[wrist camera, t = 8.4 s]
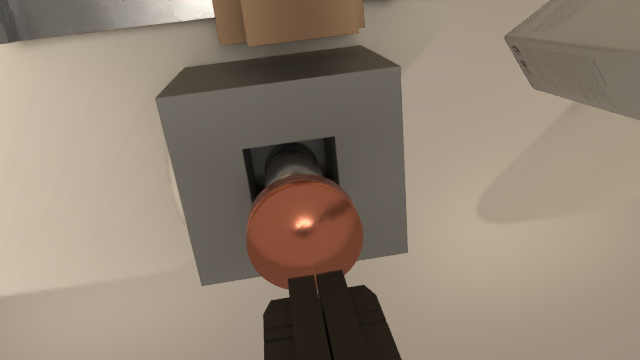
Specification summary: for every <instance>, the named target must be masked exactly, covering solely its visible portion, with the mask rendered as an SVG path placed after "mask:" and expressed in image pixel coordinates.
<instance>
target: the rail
mask: <svg viewBox="0 0 640 360" xmlns="http://www.w3.org/2000/svg"><path fill="white" fill-rule="evenodd" d="M213 17H215V15H214V10H213V5H212V0H0V44H6V43H12V42H17V41H21V40H30V39H38V38H46V37H55V36H63V35H71V34H80V33H88V32H96V31H105V30H113V29H121V28H130V27H138V26H146V25H155V24H163V23H171V22H180V21H188V20H196V19H205V18H213Z"/></svg>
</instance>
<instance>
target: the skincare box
mask: <svg viewBox="0 0 640 360" xmlns="http://www.w3.org/2000/svg"><path fill="white" fill-rule="evenodd" d="M505 41H506V42H507V44H508V46H509V48H510V49H511V51H512V52H513V55H514V56H515V58H516V60H517V62H518V63H519V65H520V67H521V68H522V70H523V72H524V74H525V76H526V77H527V79H528V81H529V82H530V84H531V86H532V87H533V88H534V89H536V90H540V91H544V92H546V93H550V94H553V95H556V96H560V97H563V98H566V99H570V100H573V101H577V102H580V103H583V104H587V105H590V106H594V107H597V108H600V109H604V110H607V111H610V112H614V113H617V114H620V115H624V116H627V117H630V118H634V119H637V120H640V0H550V1H549V2H548V3H546V4H545V5H544V6H543V7H542V8H540V9H539V10H538V11H536V12H535V13H534V14H532V15H531V16H530V17H529V18H527V19H526V20H525V21H524V22H522V23H521V24H520V25H518V26H517V27H516V28H514V29H513V30H512V31H511V32H509V33H508V34H507V35H506V36H505Z"/></svg>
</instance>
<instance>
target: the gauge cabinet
mask: <svg viewBox="0 0 640 360" xmlns="http://www.w3.org/2000/svg"><path fill="white" fill-rule="evenodd" d="M155 99H156V103H157V107H158V111H159V115H160V119H161V123H162V127H163V131H164V135H165V139H166V143H167V163H168V172H169V179H170V185H171V190H172V194H173V198H174V202H175V205H176V208H177V211H178V214H179V216H180V218H181V220H182V222H183V223H184V225H186V226H187V228H188V232H189V236H190V240H191V244H192V248H193V252H194V257H195V261H196V265H197V269H198V272H199V276H200V280H201V285H202V286H205V285H211V284H217V283H223V282H229V281H235V280H241V279H247V278H254V277H260V276H261V275H260V274H259V273H258V272H257V271H256V269H255V268H254V266H253V265H252V263H251V261H250V259H249V256H248V252H247V246H246V237H247V219H248V214H249V211H250V208H251V206H252V204H253V202H254V200H255V199H256V198H257V196H258V195H259V194H260V193H261V192H262V191H263V190H264V189H265V173H264V165H265V160H266V158H267V156H268V154H269V153H270V151H271V150H272V149H273V148H275V147H276V146H278V145H280V144H283V143H290V142H298V143H302V144H304V145H306V146H307V147H309V148H310V149H311V150H312V151H313V152H314V154H315V156H316V158H317V160H318V163H319V166H320V169H321V172H322V175H323V177H325V178H327V179H329V180H332V181H333V182H335V183H336V184H338V185H339V186H340V187H342V188H343V189H344V190H345V192H346V193H347V194H348V195H349V197H350V198H351V200H352V202H353V204H354V207H355V209H356V211H357V213H358V215H359V218H360V220H361V223H362V227H363V246H362V249H361V252H360V255H359V257H358V259H357V261H359V260H365V259H371V258H377V257H383V256H390V255H396V254H402V253H407V252H408V245H407V219H406V195H405V171H404V170H405V169H404V145H403V119H402V94H401V68H400V66H399V65H397V64H395V63H393V62H392V61H390V60H388V59H386V58H384V57H382V56H380V55H378V54H376V53H374V52H373V51H371V50H369V49H367V48H365V47H363V46H361V45H359V46H351V47H344V48H336V49H328V50H320V51H312V52H304V53H296V54H289V55H281V56H273V57H265V58H257V59H249V60H242V61H234V62H226V63H218V64H210V65H202V66H194V67H187V68H184V69H183V70H182V71H181V72H180V73H179V74H178V75H177V76H176V77H175V78H174V79H173V80H172V81H171V82H170V83H169V85H168V86H167V87H166V88H165V89H164V90H163V91H162V92H161V93H160V94H159V95H158V96H157V97H156V98H155Z"/></svg>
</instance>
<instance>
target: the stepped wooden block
mask: <svg viewBox="0 0 640 360" xmlns="http://www.w3.org/2000/svg"><path fill="white" fill-rule="evenodd" d="M212 5H213V10H214V15H215V21H216V26H217V32H218V37H219V42H220V45H228V44H236V43H244V42H247V44H248V47H252V46H260V45H267V44H275V43H283V42H291V41H299V40H307V39H315V38H323V37H331V36H339V35H347V34H355V33H359V31H358V28H365V22H364V7H363V0H212Z"/></svg>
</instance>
